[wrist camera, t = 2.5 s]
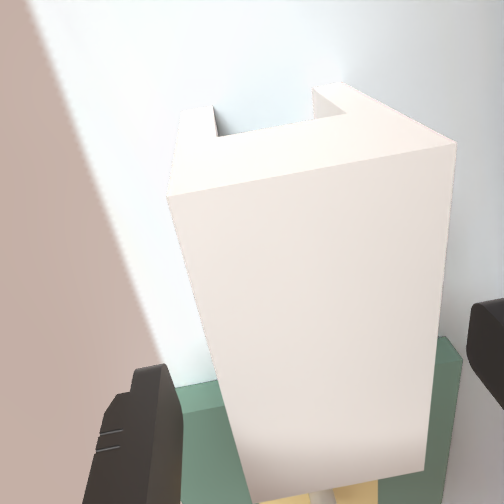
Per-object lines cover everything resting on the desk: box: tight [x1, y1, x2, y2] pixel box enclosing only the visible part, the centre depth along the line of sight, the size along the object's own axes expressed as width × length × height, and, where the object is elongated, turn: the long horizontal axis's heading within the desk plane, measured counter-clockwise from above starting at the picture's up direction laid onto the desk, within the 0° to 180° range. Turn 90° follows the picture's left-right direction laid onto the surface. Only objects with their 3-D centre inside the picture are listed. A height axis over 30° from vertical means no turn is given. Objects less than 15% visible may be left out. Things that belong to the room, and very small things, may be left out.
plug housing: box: [166, 82, 457, 504], centre depth 13 cm, size 10×5×7 cm, turn 9°
